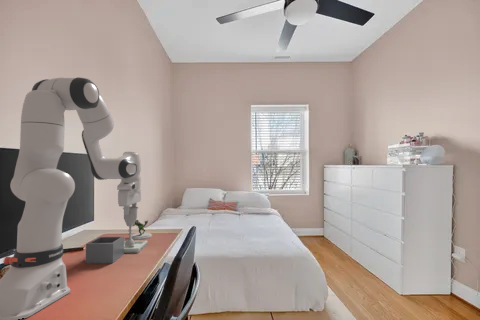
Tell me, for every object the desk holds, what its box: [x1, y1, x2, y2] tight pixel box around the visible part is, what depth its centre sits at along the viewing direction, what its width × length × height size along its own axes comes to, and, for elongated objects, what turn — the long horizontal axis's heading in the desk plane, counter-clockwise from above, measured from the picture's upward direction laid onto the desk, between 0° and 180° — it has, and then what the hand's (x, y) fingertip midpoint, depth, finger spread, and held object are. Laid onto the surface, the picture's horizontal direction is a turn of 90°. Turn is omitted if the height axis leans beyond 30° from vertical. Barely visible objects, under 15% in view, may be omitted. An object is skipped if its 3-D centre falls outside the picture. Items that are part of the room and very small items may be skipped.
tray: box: [124, 240, 148, 254], centre depth 125 cm, size 13×13×2 cm
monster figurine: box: [131, 219, 153, 241], centre depth 147 cm, size 12×12×10 cm
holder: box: [85, 236, 125, 264], centre depth 111 cm, size 11×11×8 cm
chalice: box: [122, 206, 139, 246], centre depth 125 cm, size 7×7×18 cm
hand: (130, 213), depth 126 cm, fingers closed on chalice, 6 cm apart
